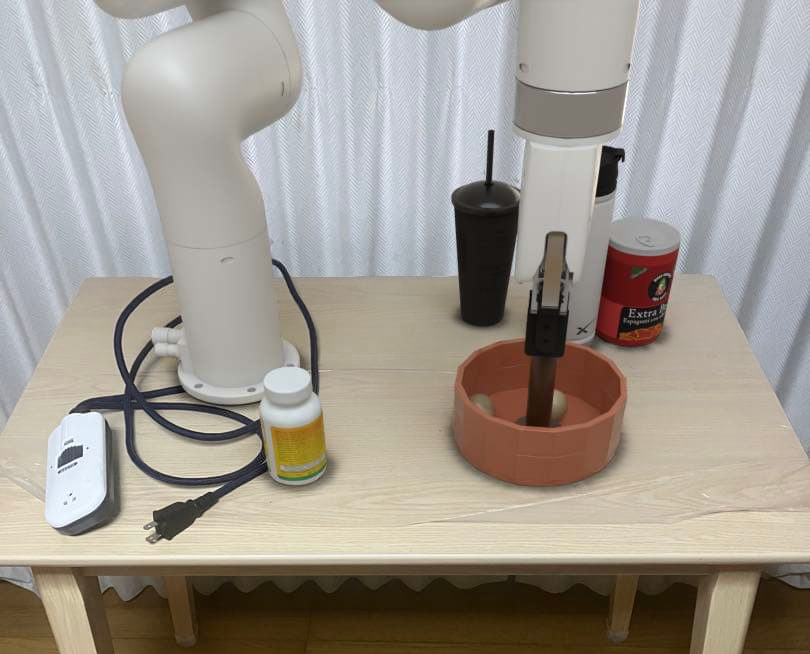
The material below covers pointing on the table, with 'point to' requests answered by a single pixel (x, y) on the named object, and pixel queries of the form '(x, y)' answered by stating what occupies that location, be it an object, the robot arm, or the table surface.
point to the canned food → (637, 280)
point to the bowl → (538, 446)
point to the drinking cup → (485, 243)
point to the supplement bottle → (292, 427)
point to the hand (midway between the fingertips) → (544, 343)
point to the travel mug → (594, 253)
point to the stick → (540, 392)
